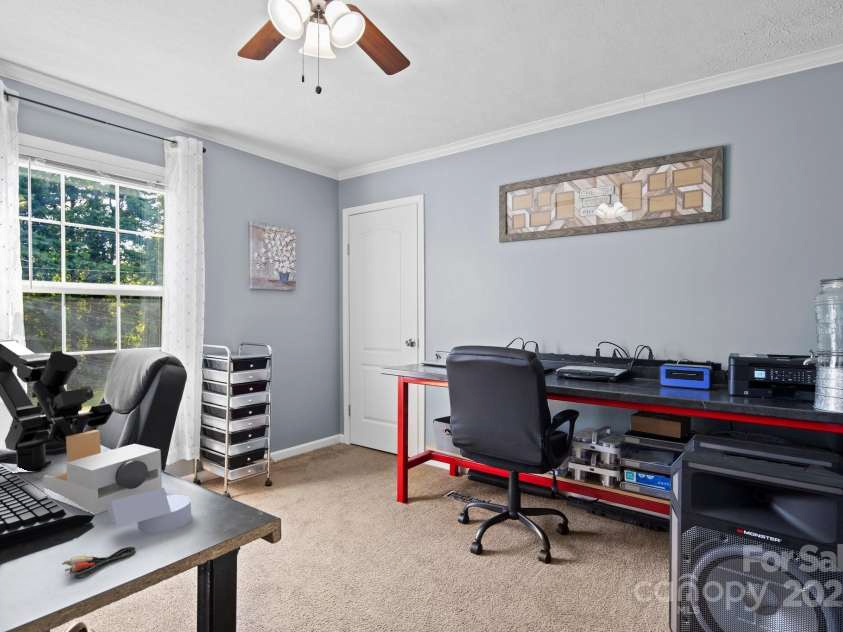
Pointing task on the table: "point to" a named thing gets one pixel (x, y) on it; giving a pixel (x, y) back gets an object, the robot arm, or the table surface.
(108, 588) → the table surface
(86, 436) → the tan boxy piece
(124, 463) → the camera case
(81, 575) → the composite cable
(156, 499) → the wedge on round base
